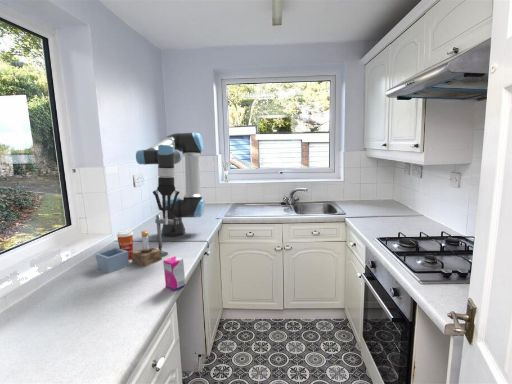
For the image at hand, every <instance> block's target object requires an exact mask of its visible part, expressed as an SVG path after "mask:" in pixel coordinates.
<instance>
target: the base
mask: <svg viewBox="0 0 512 384" xmlns="http://www.w3.org/2000/svg"><path fill="white" fill-rule="evenodd" d="M162 251H163V252H162V258H163V257H166V256H168V255H169V252H168V251H164V250H162Z"/></svg>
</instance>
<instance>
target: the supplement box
mask: <svg viewBox="0 0 512 384" xmlns="http://www.w3.org/2000/svg"><path fill="white" fill-rule="evenodd" d="M162 263H163V271H164V272H163V274H164V281H165V288H167V289H170V290H171V291H173V292H174V291H177V290H179V289H181V288H183V287H185V286H186V277H185V264H184V258H181V257H178V256H172V257H169V258H168V259H164V260H163V261H162Z"/></svg>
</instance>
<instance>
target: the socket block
mask: <svg viewBox="0 0 512 384" xmlns="http://www.w3.org/2000/svg"><path fill="white" fill-rule="evenodd" d="M149 250H150V252H148V253H143V248H140V249H137V250H135V251H134V250H133V252H132V253H131V255H132V259H131V262H132V263H134V264H137V265H139V266H143V267H147V266H150V265H151V264H155V263H157V262H159V261H161V260H163V257H162V253H161V250H160V249H159V248H156V247H151V246H149Z"/></svg>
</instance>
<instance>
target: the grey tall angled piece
mask: <svg viewBox="0 0 512 384" xmlns="http://www.w3.org/2000/svg"><path fill="white" fill-rule="evenodd" d="M160 216H161V215H160V214H156V215H155V224H156V232H157V245H158V246H157V247H158V249H160V250H161V253H162V252H163V251H164V250H163V241H162V235H161V230H162V227H161V224H162V225H163V224H165V219H163V218H161V217H160ZM168 224H172V225H178V224H179V220H178V218H173V219H168Z"/></svg>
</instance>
